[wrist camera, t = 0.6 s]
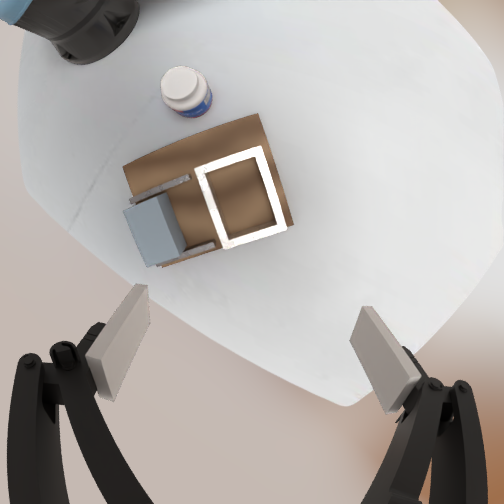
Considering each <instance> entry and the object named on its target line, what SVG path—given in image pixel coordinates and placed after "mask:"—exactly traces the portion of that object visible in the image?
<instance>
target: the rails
mask: <svg viewBox="0 0 504 504" xmlns="http://www.w3.org/2000/svg"><path fill="white" fill-rule="evenodd" d="M191 179H192V177H191V174H186V175H184V176H181V177H179V178H176V179H174V180H171V181H169V182H166V183H164V184H162V185H159V186H157V187H155V188H152V189H150V190H148V191H145V192H143V193H141V194H139V195H136V196H134V197H132V198H130V199H129V200H130V203H131V204H133V203H135V202H137V201H140V200H142V199H144V198H146V197H149V196H151V195H153V194H156V193H158V192H161V191H163V190H165V189H168V188H170V187H173V186H175V185H178V184H180V183H183V182H185V181H188V180H191ZM215 247H216V242H215V239H212V240H209V241H206V242H203V243H200V244H197V245H194V246H191V247H188V248H186V249H184V251H183V252H182V254H181V255H180V256H179V257H176V258H173V259H170V260H167V261H164V262H161V263H158V264H156V266H157V267H158V266H161V265H164V264H167V263H170V262H173V261H176V260H179V259H182V258H185V257H188V256H191V255H194V254H197V253H200V252H203V251H206V250H209V249H212V248H215Z"/></svg>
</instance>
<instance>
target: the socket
mask: <svg viewBox="0 0 504 504" xmlns="http://www.w3.org/2000/svg"><path fill="white" fill-rule="evenodd" d="M254 156H255V159H256V162H257V165H258V168H259V171H260V174H261V177H262V180H263V183H264V186H265V189H266V192H267V195H268V199H269V202H270V205H271V208H272V211H273V214H274V217H275V220H273V221H269V222H266V223H263V224H260V225H257V226H254V227H251V228H248V229H245V230H242V231H239V232H235V233H232V234H230V233H229V230H228V228H227V225H226V222H225V219H224V217H223V214H222V211H221V208H220V205H219V203H218V200H217V197H216V194H215V191H214V189H213V186H212V183H211V180H210V177H209V174H208V172H210V171H213V170H216V169H218V168H221V167H224V166H227V165H230V164H233V163H236V162H239V161H242V160H245V159H248V158H251V157H254ZM194 170H195V173H196V175H197V178H198V181H199V184H200V187H201V189H202V192H203V195H204V198H205V200H206V203H207V206H208V209H209V211H210V214H211V217H212V220H213V222H214V225H215V228H216V230H217V233H218V236H219V238H220V241H221V244H222V246H223V249H224V250H226V249H229V248H232V247H235V246H238V245H241V244H244V243H247V242H250V241H254V240H257V239H260V238H263V237H266V236H269V235H272V234H275V233H279V232H282V231H285V230H287V226H286V223H285V220H284V216H283V213H282V210H281V207H280V203H279V200H278V197H277V194H276V191H275V187H274V184H273V181H272V178H271V175H270V172H269V169H268V166H267V163H266V160H265V157H264V154H263V151H262V148H261V146H258V147H255V148H252V149H249V150H246V151H243V152H240V153H236V154H234V155H231V156H228V157H225V158H222V159H219V160H216V161H213V162H211V163H208V164H205V165H202V166H200V167H197V168H194Z"/></svg>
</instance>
